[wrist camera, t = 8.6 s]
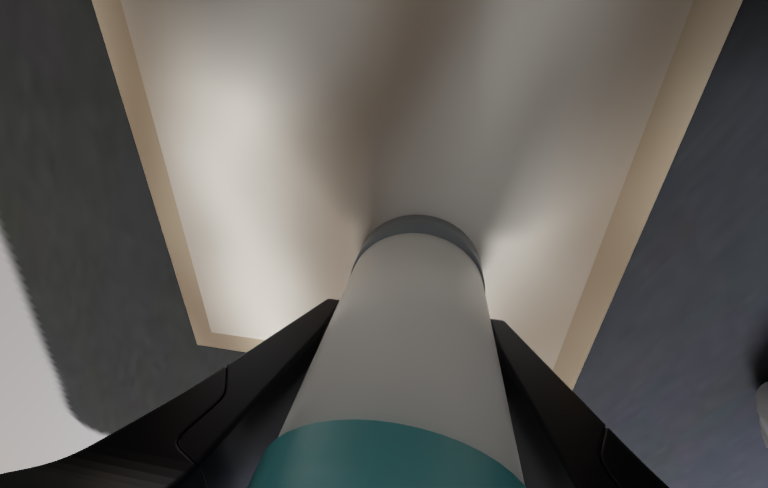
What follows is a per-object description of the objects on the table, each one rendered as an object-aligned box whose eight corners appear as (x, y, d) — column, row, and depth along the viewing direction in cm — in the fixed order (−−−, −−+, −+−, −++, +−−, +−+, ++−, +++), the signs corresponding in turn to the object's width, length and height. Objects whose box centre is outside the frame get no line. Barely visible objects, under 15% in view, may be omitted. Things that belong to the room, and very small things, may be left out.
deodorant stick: (493, 219, 9) (790, 1006, 1) (471, 325, 11) (543, 901, 3) (356, 207, 10) (18, 735, 2) (357, 311, 12) (192, 782, 4)
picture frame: (1022, -707, 4) (1114, -834, 3) (562, 390, 13) (568, 403, 12) (-29, -470, 6) (-74, -525, 5) (204, 337, 15) (195, 346, 14)
